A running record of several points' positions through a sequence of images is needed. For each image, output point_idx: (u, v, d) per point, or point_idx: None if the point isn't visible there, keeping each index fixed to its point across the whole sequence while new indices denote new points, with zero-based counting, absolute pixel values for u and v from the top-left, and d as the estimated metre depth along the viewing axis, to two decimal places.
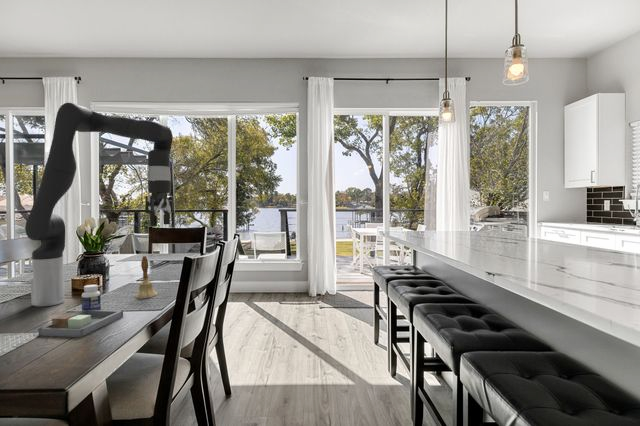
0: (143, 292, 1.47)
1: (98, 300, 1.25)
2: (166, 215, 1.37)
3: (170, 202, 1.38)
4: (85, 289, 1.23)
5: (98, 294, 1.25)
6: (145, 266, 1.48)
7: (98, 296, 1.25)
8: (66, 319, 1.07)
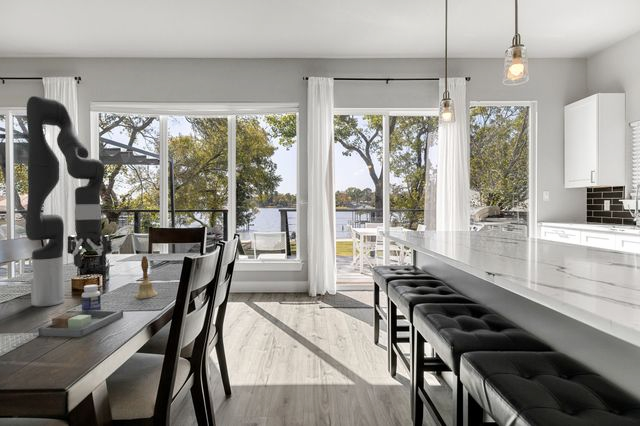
0: (143, 292, 1.47)
1: (98, 300, 1.25)
2: (79, 256, 1.25)
3: (75, 242, 1.26)
4: (85, 289, 1.23)
5: (98, 294, 1.25)
6: (145, 266, 1.48)
7: (98, 296, 1.25)
8: (66, 319, 1.07)
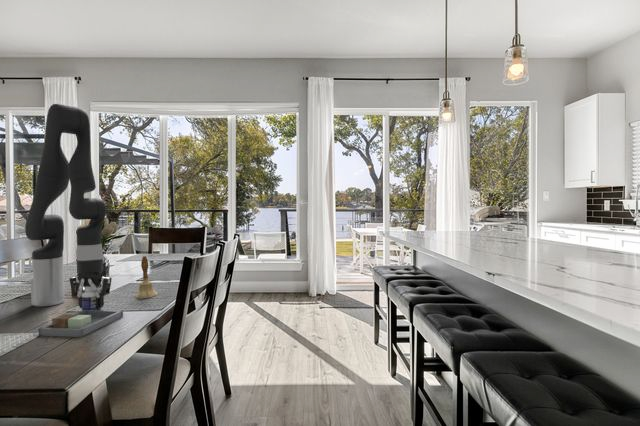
0: (143, 292, 1.47)
1: None
2: None
3: (78, 283, 1.26)
4: (85, 289, 1.23)
5: None
6: (145, 266, 1.48)
7: None
8: (66, 319, 1.07)
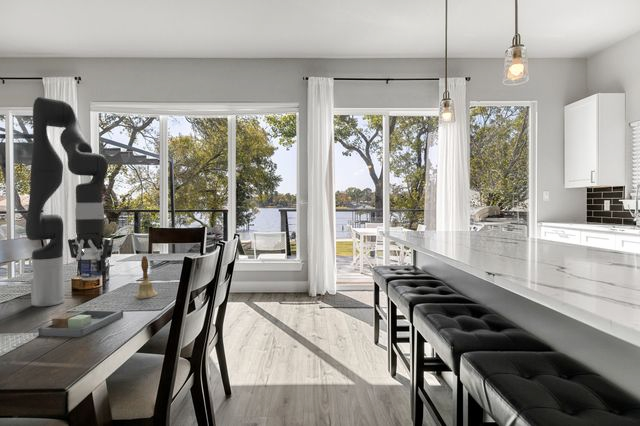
0: (143, 292, 1.47)
1: None
2: None
3: (77, 245, 1.17)
4: (85, 251, 1.14)
5: None
6: (145, 266, 1.48)
7: None
8: (66, 319, 1.07)
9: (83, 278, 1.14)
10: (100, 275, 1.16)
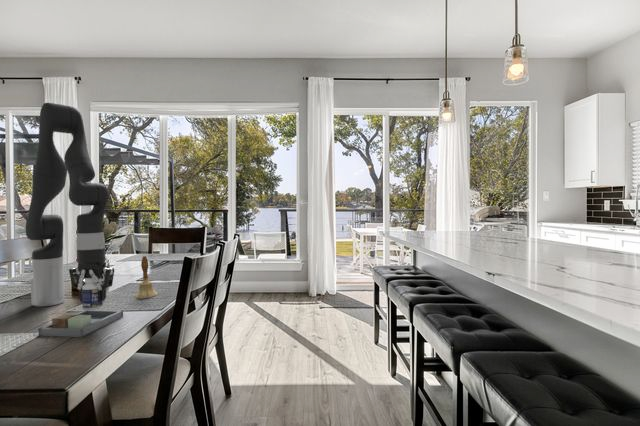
0: (143, 292, 1.47)
1: None
2: None
3: (78, 274, 1.17)
4: (86, 281, 1.14)
5: None
6: (145, 266, 1.48)
7: None
8: (66, 319, 1.07)
9: (84, 308, 1.14)
10: (101, 304, 1.16)
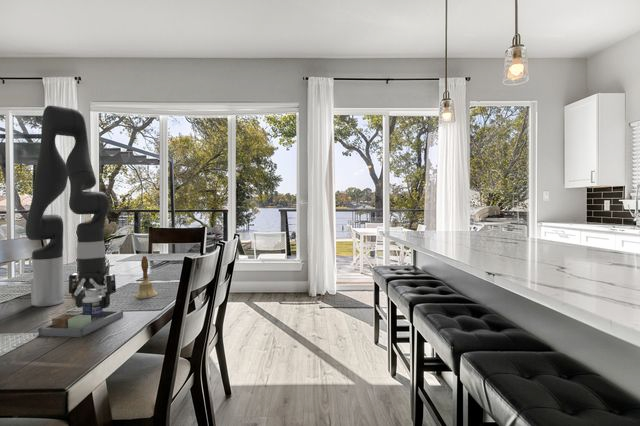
0: (143, 292, 1.47)
1: (100, 305, 1.16)
2: (81, 296, 1.17)
3: (77, 280, 1.18)
4: (86, 294, 1.14)
5: (100, 299, 1.16)
6: (145, 266, 1.48)
7: (100, 301, 1.16)
8: (66, 319, 1.07)
9: None
10: (101, 317, 1.17)
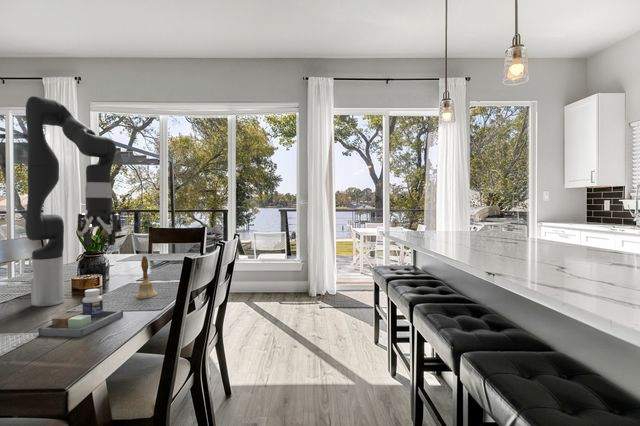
0: (143, 292, 1.47)
1: (100, 305, 1.16)
2: (89, 234, 1.25)
3: (85, 220, 1.26)
4: (86, 294, 1.14)
5: (100, 299, 1.16)
6: (145, 266, 1.48)
7: (100, 301, 1.16)
8: (66, 319, 1.07)
9: None
10: (101, 317, 1.17)
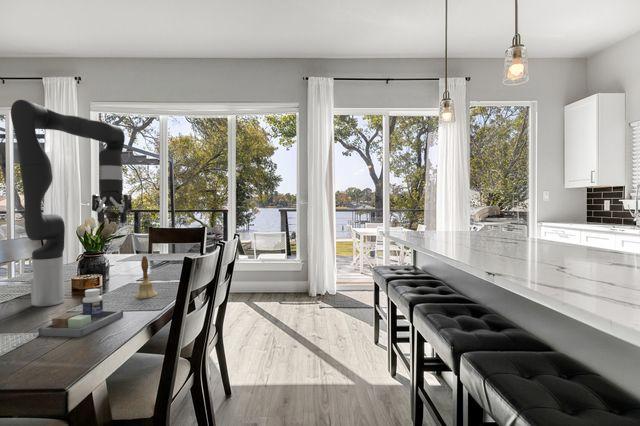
0: (143, 292, 1.47)
1: (100, 305, 1.16)
2: (102, 213, 1.38)
3: (98, 201, 1.38)
4: (86, 294, 1.14)
5: (100, 299, 1.16)
6: (145, 266, 1.48)
7: (100, 301, 1.16)
8: (66, 319, 1.07)
9: None
10: (101, 317, 1.17)
